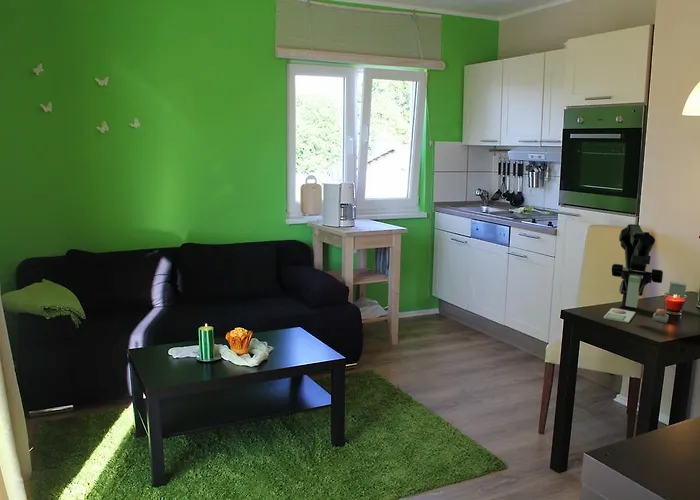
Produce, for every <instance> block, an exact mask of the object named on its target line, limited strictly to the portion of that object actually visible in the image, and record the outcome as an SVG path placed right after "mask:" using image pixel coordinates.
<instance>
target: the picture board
mask: <svg viewBox="0 0 700 500" xmlns="http://www.w3.org/2000/svg"><path fill="white" fill-rule="evenodd" d="M635 315H636V311H634V310H633V311H631V310H628V309H622V308H614V307H611V308H610V309H609V310H608V312H607V313H606V314H605V315H604V316H603V317H602V318H603V320H609V321H615V322H618V323H619V322H620V323H625V324H629V323H630V321H631V320H632V319H633V318H634V316H635Z"/></svg>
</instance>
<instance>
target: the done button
mask: <svg viewBox="0 0 700 500" xmlns="http://www.w3.org/2000/svg"><path fill="white" fill-rule="evenodd" d="M655 313H656V314H657V315H660V316H666V315H667V309H663V308H657V309H656V312H655Z"/></svg>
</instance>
